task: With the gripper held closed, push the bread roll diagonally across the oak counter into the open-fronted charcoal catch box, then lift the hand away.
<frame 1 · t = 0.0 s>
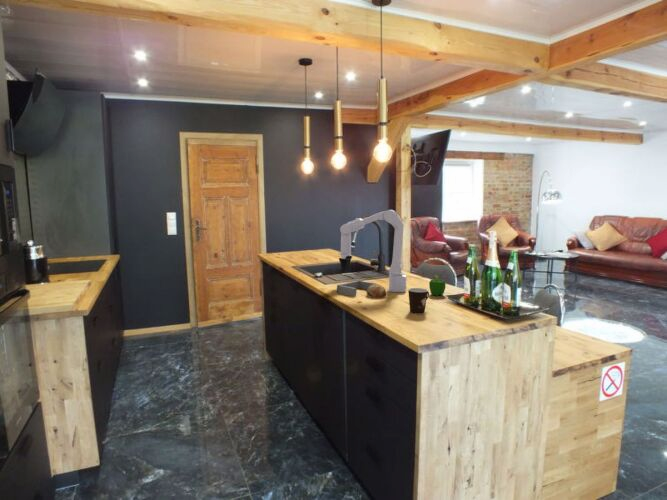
hand: (345, 269, 238), 10 cm above the worktop, tool pointing down, fingers open, 7 cm apart
bread roll: (376, 296, 221), on the worktop
catch box: (357, 291, 229), on the worktop
coffee mug: (420, 312, 192), on the worktop
bell pepper: (436, 295, 224), on the worktop
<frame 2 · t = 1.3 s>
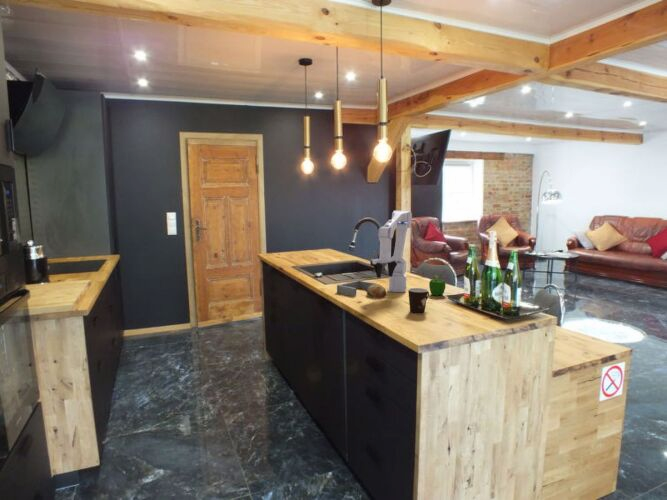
hand: (384, 277, 217), 10 cm above the worktop, tool pointing down, fingers open, 7 cm apart
nothing on the worktop moved.
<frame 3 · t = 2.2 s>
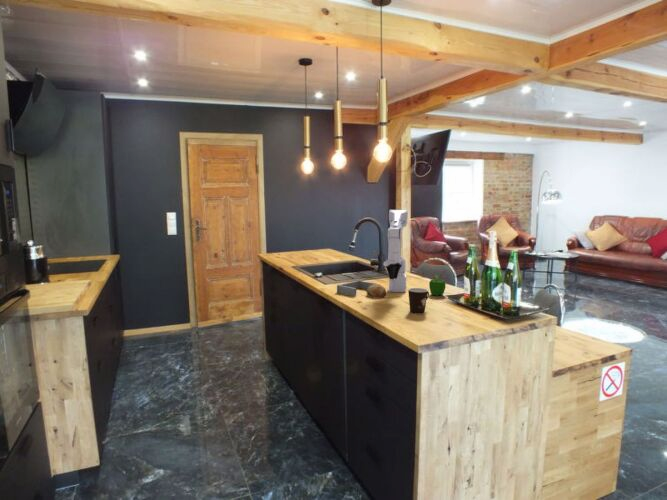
hand: (393, 278, 213), 10 cm above the worktop, tool pointing down, fingers closed
nothing on the worktop moved.
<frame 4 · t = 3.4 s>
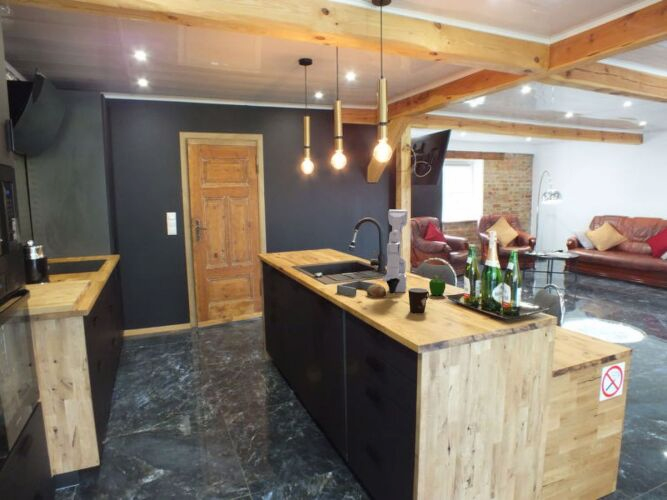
hand: (392, 293, 214), 3 cm above the worktop, tool pointing down, fingers closed
nothing on the worktop moved.
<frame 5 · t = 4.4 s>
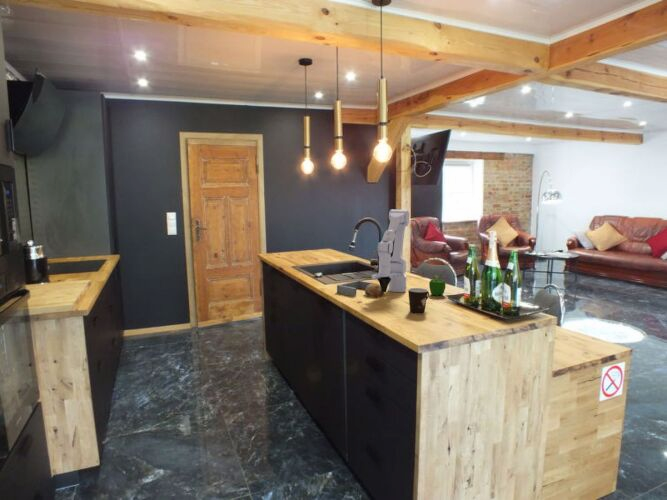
hand: (383, 291, 217), 3 cm above the worktop, tool pointing down, fingers closed
bread roll: (374, 295, 222), on the worktop
everything else where it was.
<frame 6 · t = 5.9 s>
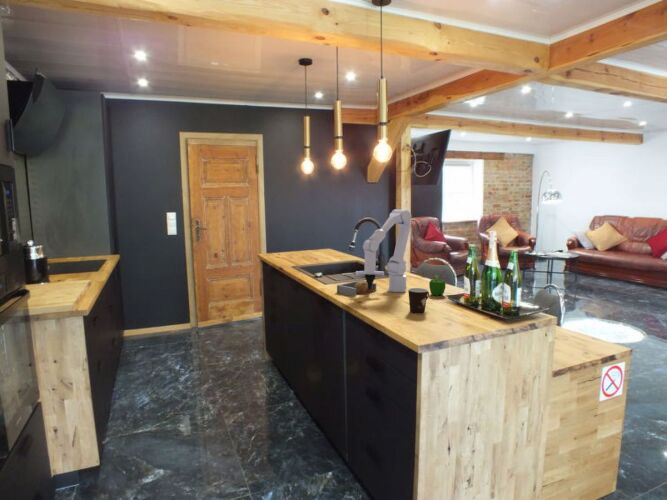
hand: (369, 288, 224), 3 cm above the worktop, tool pointing down, fingers closed
bread roll: (363, 292, 229), on the worktop, touching gripper
everything else where it was.
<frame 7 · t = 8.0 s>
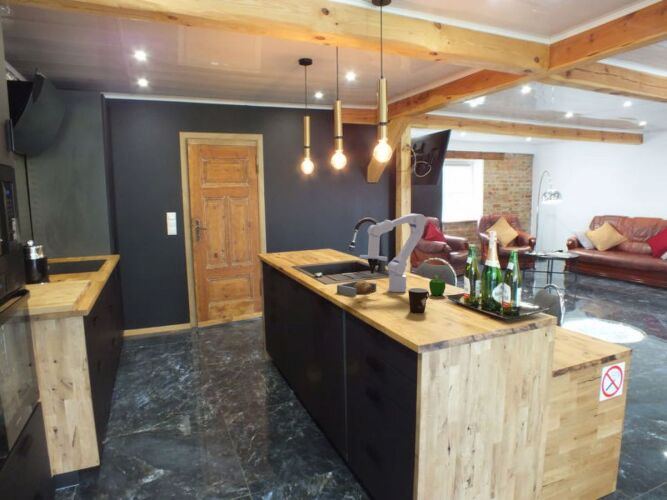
hand: (372, 273, 228), 10 cm above the worktop, tool pointing down, fingers closed
bread roll: (363, 292, 230), on the worktop
everything else where it was.
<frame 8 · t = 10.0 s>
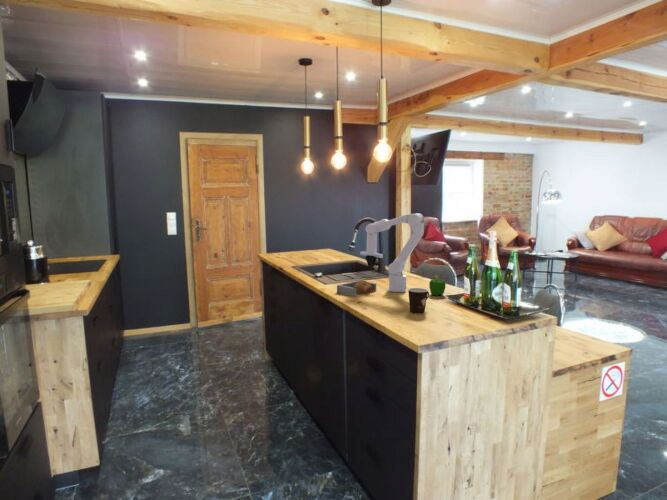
hand: (370, 269, 239), 10 cm above the worktop, tool pointing down, fingers closed
nothing on the worktop moved.
at the end: bread roll 3.0 cm from the catch box (horizontally); bread roll moved 11.0 cm from its start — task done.
